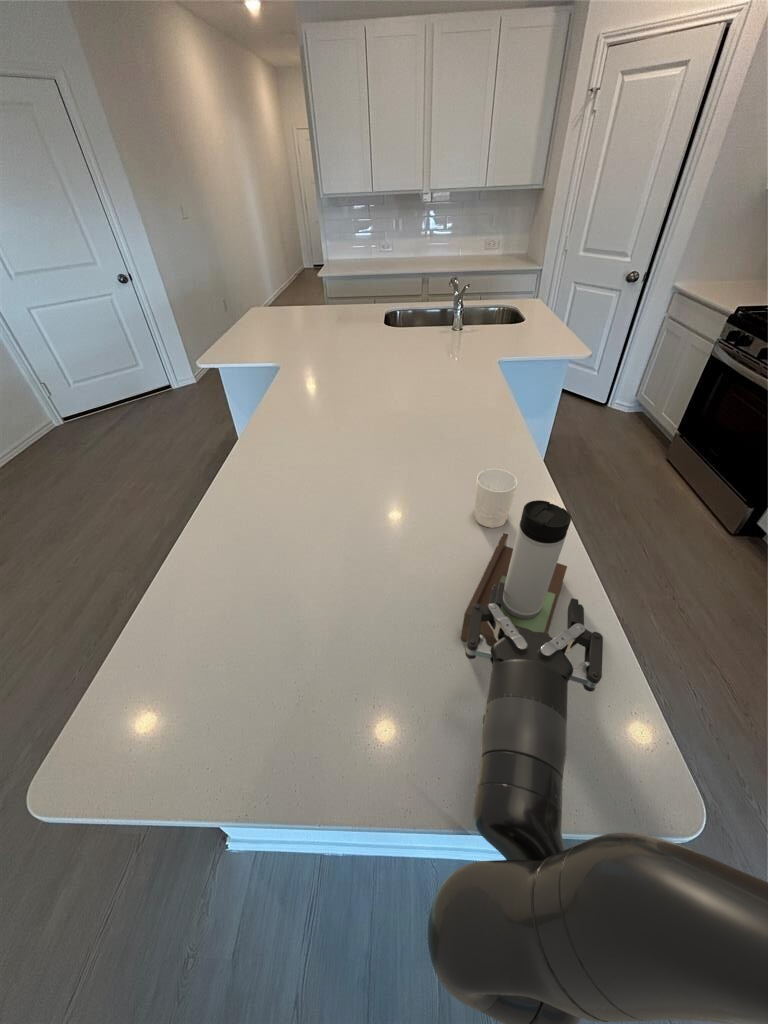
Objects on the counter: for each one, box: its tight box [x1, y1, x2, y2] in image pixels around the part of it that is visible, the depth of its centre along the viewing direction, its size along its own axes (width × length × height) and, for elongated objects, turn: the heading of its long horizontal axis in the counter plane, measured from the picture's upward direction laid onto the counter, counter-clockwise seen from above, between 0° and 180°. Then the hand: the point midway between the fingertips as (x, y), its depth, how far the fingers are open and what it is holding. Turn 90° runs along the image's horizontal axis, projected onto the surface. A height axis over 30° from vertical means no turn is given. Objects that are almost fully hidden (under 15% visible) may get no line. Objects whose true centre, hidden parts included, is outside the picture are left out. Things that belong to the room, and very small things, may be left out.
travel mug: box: [502, 499, 572, 619], centre depth 65 cm, size 6×7×20 cm
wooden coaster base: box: [460, 532, 568, 647], centre depth 73 cm, size 12×20×7 cm, turn 152°
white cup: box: [474, 468, 518, 529], centre depth 90 cm, size 8×8×10 cm
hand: (536, 594), depth 54 cm, fingers open, 8 cm apart
